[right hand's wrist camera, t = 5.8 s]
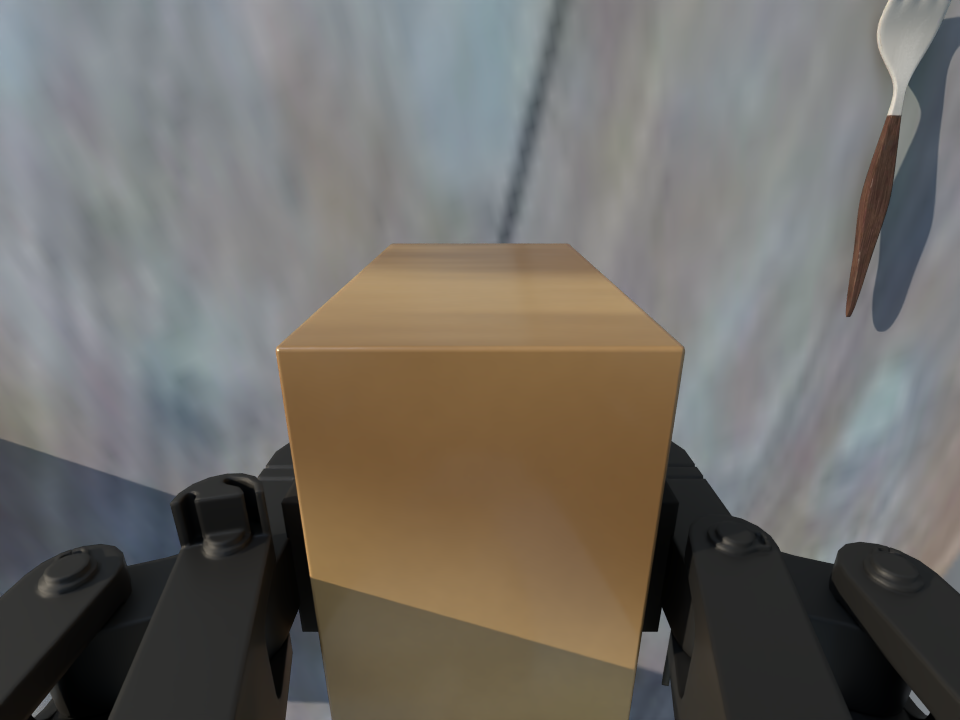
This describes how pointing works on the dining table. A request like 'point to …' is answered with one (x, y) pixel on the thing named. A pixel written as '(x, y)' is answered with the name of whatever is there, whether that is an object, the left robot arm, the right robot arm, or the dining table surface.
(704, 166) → the dining table surface
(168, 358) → the dining table surface
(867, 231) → the fork
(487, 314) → the bar
